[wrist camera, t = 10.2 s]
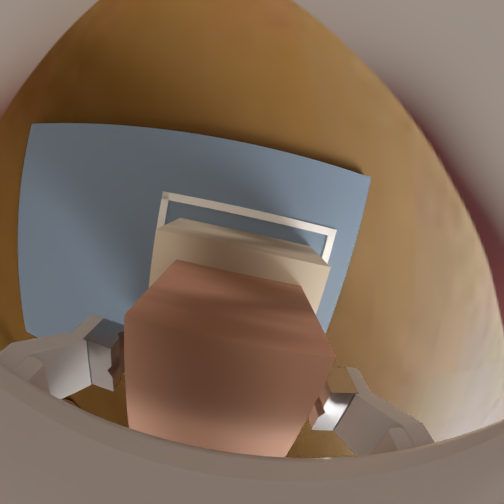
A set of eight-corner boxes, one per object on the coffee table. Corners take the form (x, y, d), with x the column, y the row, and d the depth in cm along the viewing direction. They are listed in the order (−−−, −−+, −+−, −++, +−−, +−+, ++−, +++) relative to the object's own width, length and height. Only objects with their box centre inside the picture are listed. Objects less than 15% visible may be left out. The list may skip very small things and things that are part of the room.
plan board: (365, 177, 15) (371, 177, 14) (292, 401, 18) (294, 409, 17) (38, 125, 13) (31, 123, 12) (31, 327, 17) (25, 331, 16)
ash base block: (309, 246, 15) (330, 267, 11) (277, 355, 16) (284, 399, 12) (180, 217, 14) (156, 229, 10) (164, 332, 16) (143, 370, 12)
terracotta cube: (301, 285, 11) (336, 357, 6) (269, 382, 12) (278, 467, 7) (176, 259, 11) (124, 314, 6) (164, 361, 12) (130, 440, 7)
